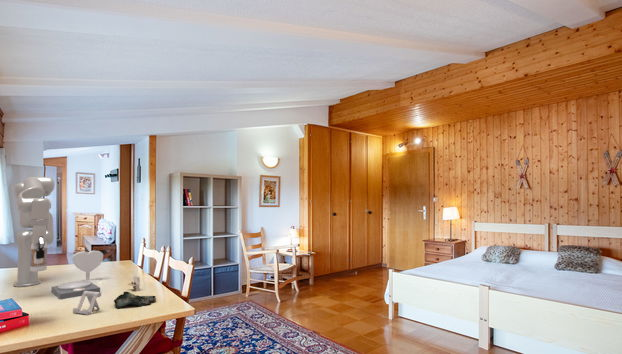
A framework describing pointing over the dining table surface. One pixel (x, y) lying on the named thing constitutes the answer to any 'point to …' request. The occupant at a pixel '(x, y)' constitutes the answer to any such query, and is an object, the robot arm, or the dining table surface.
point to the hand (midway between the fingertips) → (38, 257)
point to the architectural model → (135, 283)
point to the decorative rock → (132, 300)
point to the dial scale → (74, 289)
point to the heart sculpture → (88, 262)
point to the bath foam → (38, 263)
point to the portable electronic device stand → (92, 301)
